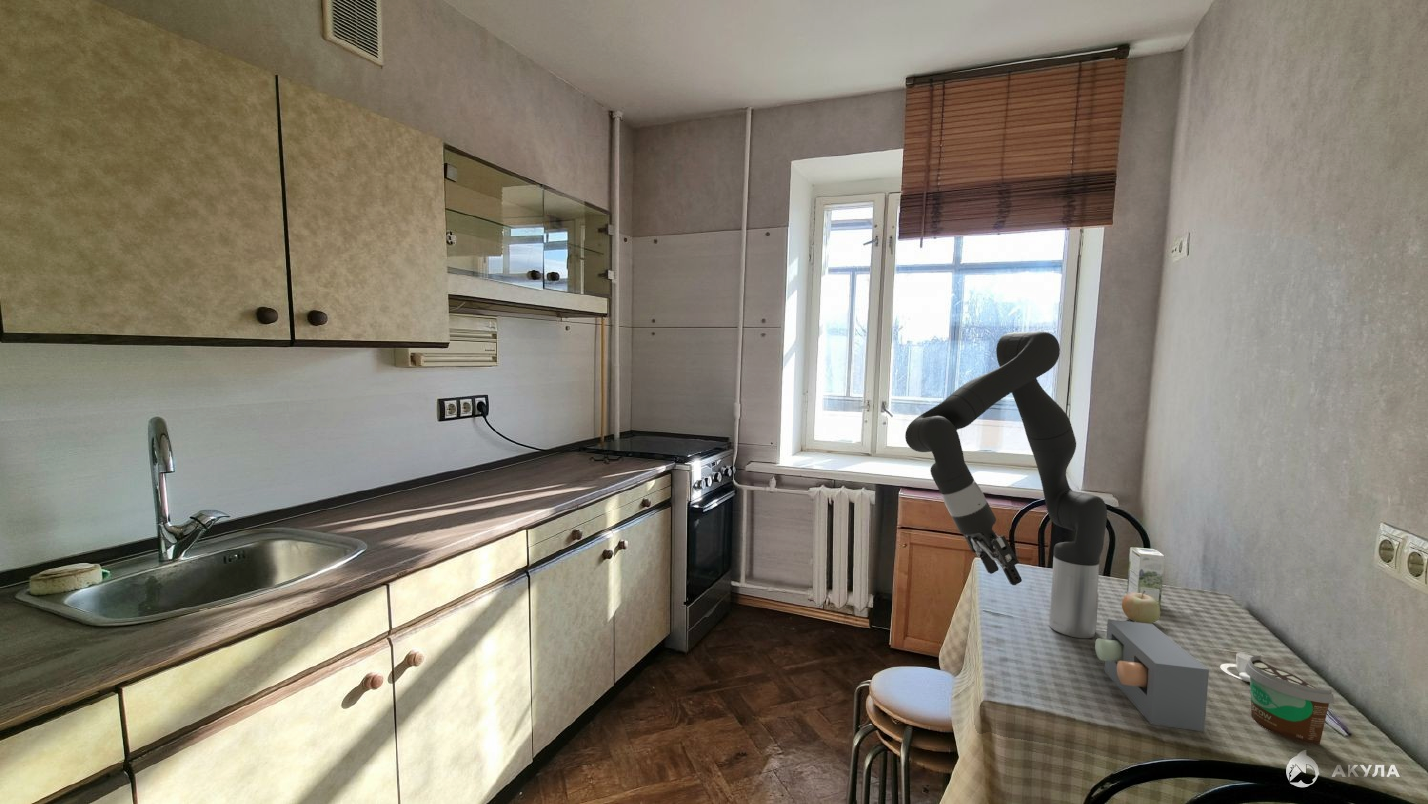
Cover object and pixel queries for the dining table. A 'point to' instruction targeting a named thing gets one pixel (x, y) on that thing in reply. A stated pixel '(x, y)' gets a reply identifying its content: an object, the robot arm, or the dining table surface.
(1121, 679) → the terracotta button
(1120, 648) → the sage button
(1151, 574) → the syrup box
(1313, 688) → the food container
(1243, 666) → the teacup and saucer
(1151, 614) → the fruit
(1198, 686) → the block
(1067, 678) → the dining table surface
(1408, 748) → the dining table surface
